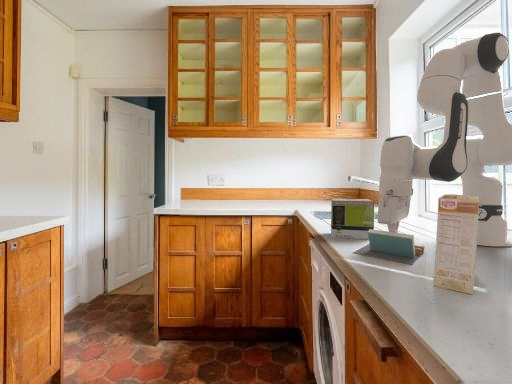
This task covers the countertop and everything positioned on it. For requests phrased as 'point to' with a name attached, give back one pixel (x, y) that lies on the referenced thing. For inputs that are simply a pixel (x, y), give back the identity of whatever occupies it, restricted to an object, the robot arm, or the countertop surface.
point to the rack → (419, 250)
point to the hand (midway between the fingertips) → (392, 235)
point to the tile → (392, 242)
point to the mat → (386, 255)
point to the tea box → (352, 218)
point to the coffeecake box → (456, 242)
